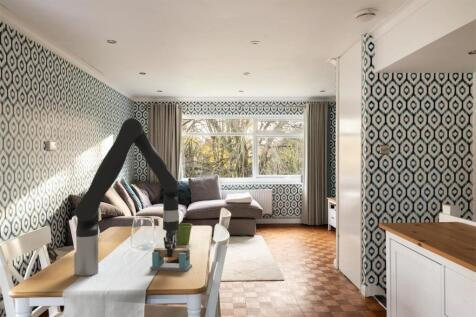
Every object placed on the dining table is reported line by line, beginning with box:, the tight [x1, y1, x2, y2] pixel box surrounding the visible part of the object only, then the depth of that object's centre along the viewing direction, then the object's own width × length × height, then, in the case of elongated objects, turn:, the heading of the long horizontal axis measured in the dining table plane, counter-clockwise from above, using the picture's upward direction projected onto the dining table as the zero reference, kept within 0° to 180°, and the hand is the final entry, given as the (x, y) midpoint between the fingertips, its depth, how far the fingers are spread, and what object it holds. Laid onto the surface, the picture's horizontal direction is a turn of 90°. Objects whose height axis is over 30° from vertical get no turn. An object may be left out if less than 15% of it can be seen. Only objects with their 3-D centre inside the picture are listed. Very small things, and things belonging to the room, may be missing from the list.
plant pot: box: [176, 222, 193, 246], centre depth 220 cm, size 12×12×11 cm
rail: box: [153, 247, 190, 259], centre depth 171 cm, size 16×4×4 cm, turn 84°
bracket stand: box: [149, 249, 193, 272], centre depth 171 cm, size 18×8×8 cm, turn 81°
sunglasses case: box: [164, 258, 179, 264], centre depth 186 cm, size 18×7×7 cm, turn 2°
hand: (171, 255), depth 171 cm, fingers closed on rail, 3 cm apart
